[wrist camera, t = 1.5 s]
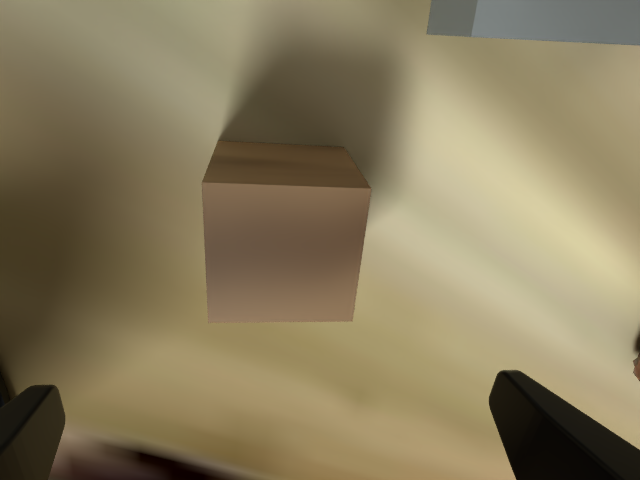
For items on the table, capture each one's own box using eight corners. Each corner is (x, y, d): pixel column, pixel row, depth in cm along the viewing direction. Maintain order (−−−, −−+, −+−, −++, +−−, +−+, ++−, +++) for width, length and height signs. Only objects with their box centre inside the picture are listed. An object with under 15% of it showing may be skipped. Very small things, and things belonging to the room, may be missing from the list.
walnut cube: (331, 253, 19) (352, 321, 15) (221, 252, 19) (208, 322, 14) (343, 146, 17) (371, 188, 13) (218, 140, 16) (201, 182, 12)
